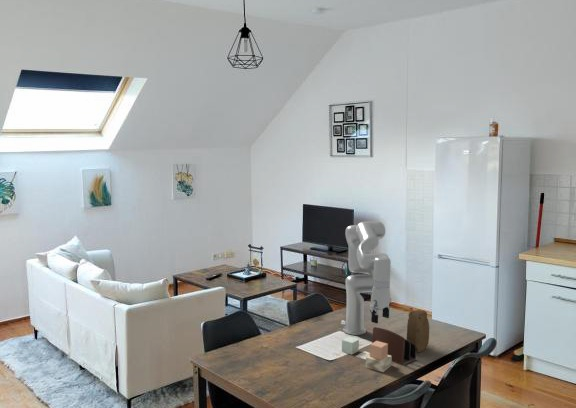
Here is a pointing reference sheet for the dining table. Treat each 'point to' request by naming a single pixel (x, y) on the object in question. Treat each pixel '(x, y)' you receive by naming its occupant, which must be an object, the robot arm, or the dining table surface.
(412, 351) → the letter holder
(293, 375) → the dining table surface
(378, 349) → the terracotta cube
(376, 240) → the robot arm
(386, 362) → the birch block
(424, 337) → the block
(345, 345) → the sage cube
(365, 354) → the card
